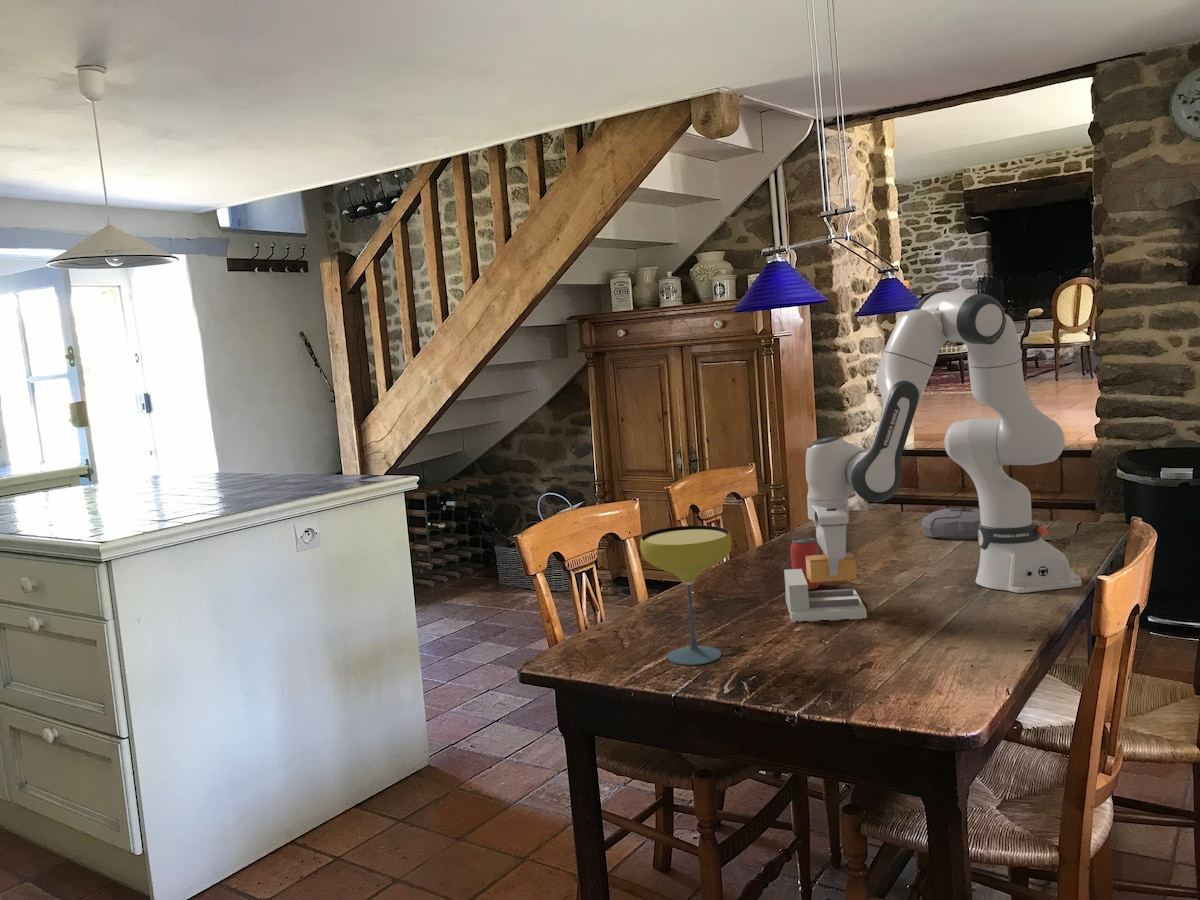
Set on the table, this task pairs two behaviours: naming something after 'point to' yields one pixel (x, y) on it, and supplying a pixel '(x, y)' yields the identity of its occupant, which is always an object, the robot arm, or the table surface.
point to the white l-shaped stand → (820, 601)
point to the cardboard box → (820, 568)
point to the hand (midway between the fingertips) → (831, 571)
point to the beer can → (803, 556)
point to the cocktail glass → (687, 570)
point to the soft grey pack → (953, 524)
